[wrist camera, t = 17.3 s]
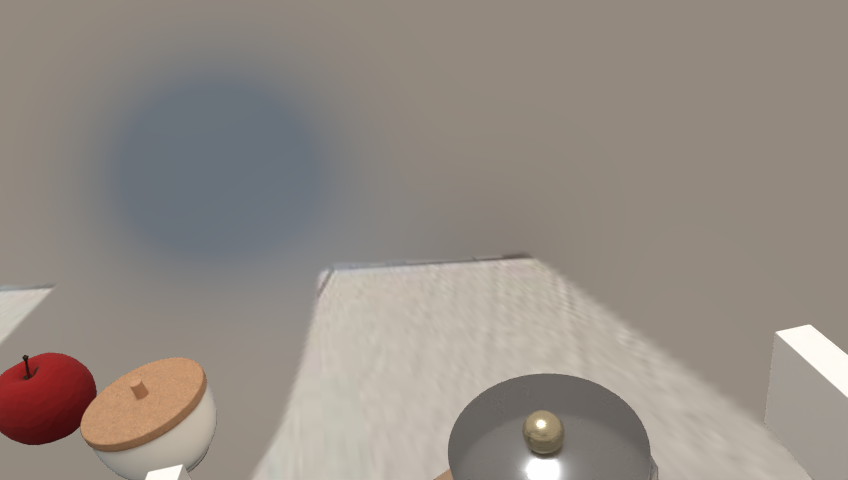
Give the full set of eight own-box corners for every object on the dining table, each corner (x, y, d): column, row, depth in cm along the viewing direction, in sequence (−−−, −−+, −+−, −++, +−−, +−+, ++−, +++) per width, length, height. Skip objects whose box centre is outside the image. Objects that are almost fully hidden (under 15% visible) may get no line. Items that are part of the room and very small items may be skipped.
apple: (93, 386, 67) (51, 318, 62) (121, 415, 61) (77, 343, 56) (8, 438, 61) (-45, 368, 57) (30, 476, 55) (-27, 401, 51)
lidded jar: (176, 407, 60) (138, 339, 56) (254, 422, 56) (220, 348, 52) (93, 492, 52) (42, 419, 47) (178, 517, 47) (130, 439, 43)
